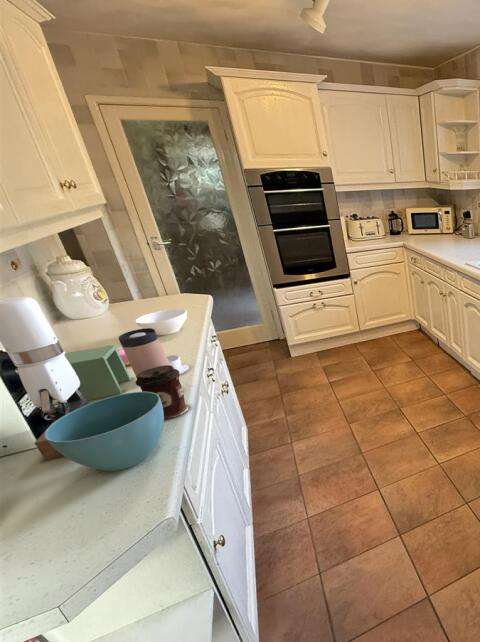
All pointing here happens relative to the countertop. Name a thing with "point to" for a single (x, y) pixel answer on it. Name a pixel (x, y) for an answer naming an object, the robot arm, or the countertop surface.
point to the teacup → (177, 363)
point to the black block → (73, 406)
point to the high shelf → (98, 371)
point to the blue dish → (110, 431)
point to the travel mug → (143, 349)
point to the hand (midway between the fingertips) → (76, 420)
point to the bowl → (163, 321)
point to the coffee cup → (164, 388)
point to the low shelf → (47, 448)
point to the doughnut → (124, 357)
